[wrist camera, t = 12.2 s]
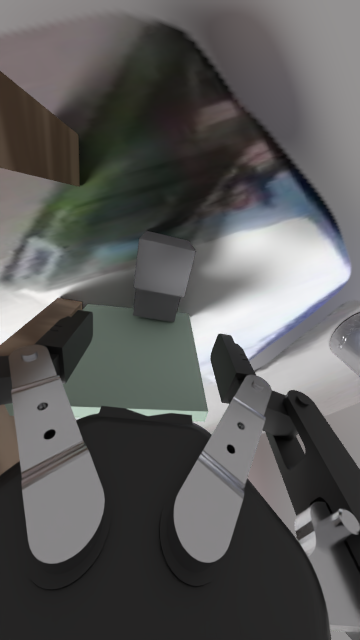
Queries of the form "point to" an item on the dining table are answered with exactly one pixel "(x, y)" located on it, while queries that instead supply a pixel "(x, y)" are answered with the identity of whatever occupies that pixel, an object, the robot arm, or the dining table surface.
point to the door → (137, 367)
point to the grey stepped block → (161, 275)
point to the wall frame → (46, 162)
